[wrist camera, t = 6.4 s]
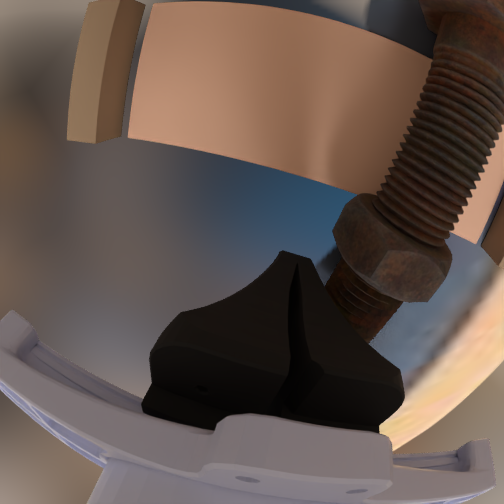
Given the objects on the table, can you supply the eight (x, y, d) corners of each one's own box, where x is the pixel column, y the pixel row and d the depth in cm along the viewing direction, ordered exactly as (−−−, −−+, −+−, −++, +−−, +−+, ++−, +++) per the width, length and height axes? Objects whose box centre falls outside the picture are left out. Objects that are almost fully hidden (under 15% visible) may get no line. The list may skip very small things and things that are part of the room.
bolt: (326, 270, 15) (438, 19, 7) (397, 325, 13) (531, 71, 5) (261, 317, 11) (413, -55, 3) (358, 398, 9) (564, 17, 1)
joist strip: (501, 256, 11) (518, 276, 9) (93, 132, 12) (67, 140, 10) (544, 145, 7) (567, 154, 5) (114, 9, 8) (88, 2, 7)
